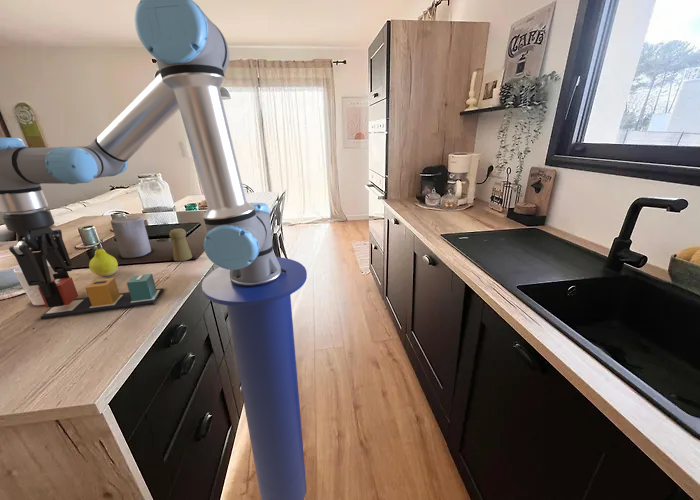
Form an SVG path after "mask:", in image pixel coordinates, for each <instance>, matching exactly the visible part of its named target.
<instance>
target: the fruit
mask: <svg viewBox="0 0 700 500" xmlns="http://www.w3.org/2000/svg"><path fill="white" fill-rule="evenodd" d="M103 240H104V238H101V240H100V241H99V242H98V248H97V249H96V250H95V251H94V256H93V257H92V258H91V259H90V260H89V264H88V268H89V270H90V272H92V273H93V274H94V275H97V276H100V277H109V276H112V275H113V274H115V273H116V271H117V270H118V266H119V263H118V260H117V258H115V257H114V256H113V255H112V254H109V253H108V252H106V250H105V249H104V248H100V245H101V243H102V242H103Z"/></svg>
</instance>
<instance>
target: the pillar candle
mask: <svg viewBox="0 0 700 500" xmlns="http://www.w3.org/2000/svg"><path fill="white" fill-rule="evenodd" d="M110 225H111V228H112V232H113V234H114V238H115V241H116V244H117V248H118V251H119V255H120V257H121V258H123V259H133V258H139V257H143V256H146V255H147V254H150V253H151V252H152V248H151V243H150V240H149V235H148V232H147V228H146V225H145V220H144V216H142V215H125V216H119V217H115V218H111V220H110Z"/></svg>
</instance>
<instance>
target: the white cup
mask: <svg viewBox="0 0 700 500" xmlns="http://www.w3.org/2000/svg"><path fill="white" fill-rule="evenodd" d="M47 264H48V269H49V273H50V277H51V279H54V277H53V274H55V272H54V270H53V269H52V267H51V266H50V264H49V263H48V261H47ZM12 272H13V273H14V275H15V276H16V278H17V280H18V282H19V284H20V285H21V288H22V290H23V291H24V292H25V294H26V296H27V297H28V298H29V300H30V302H31V304H32V305H33V306H46V305H45V303H44V301H43V298H42V296H41V294H40V291H39V289H38V287H39V286H38V285H35V286H29V285H28V283H27V281H26V279H25V277H24V274H23V272H22V270H21V268H20V266H19V265H18V266H17V267H15V268H14V269H13V270H12ZM56 273H57V272H56Z"/></svg>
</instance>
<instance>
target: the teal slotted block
mask: <svg viewBox="0 0 700 500" xmlns="http://www.w3.org/2000/svg"><path fill="white" fill-rule="evenodd" d="M126 286H127V289H128V292H130V295H131V299H132V301H139V300H146V299H152V298H153V296H154V295H155V293H156V292H157V290H156V289H157V286H156V283H155V279H154V275H153V273H146V274H136V275H132V276H131V277H130V278H129V280H127V282H126Z"/></svg>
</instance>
